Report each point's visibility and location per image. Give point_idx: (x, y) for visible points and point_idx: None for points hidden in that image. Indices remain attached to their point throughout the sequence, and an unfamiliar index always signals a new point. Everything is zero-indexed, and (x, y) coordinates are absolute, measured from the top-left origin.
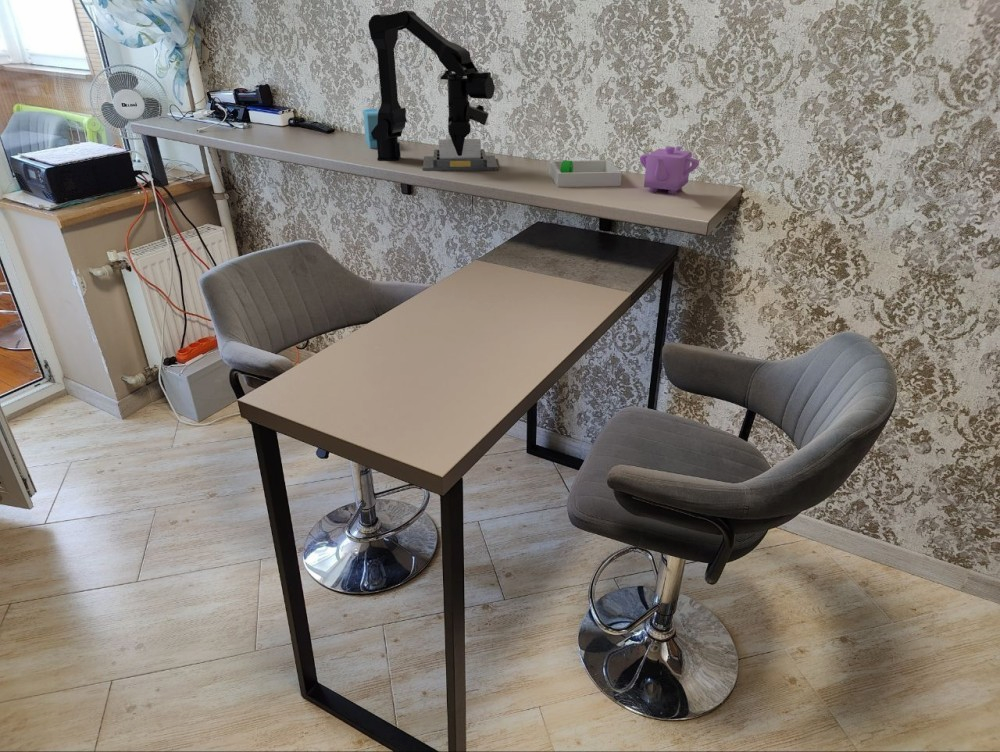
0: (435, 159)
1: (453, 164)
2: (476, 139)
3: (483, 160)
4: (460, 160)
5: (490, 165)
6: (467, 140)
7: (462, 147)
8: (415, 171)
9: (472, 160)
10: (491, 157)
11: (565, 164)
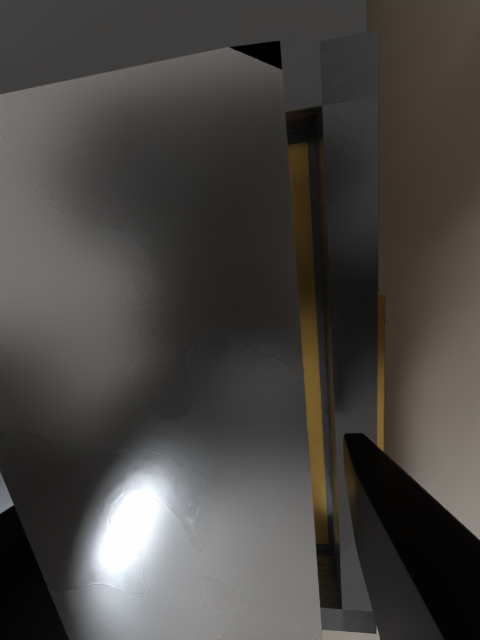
0: (326, 616)
1: None
2: (31, 261)
3: (375, 98)
4: (374, 412)
5: (271, 28)
6: (266, 534)
7: (454, 523)
8: (357, 632)
9: (375, 269)
10: None
11: None
